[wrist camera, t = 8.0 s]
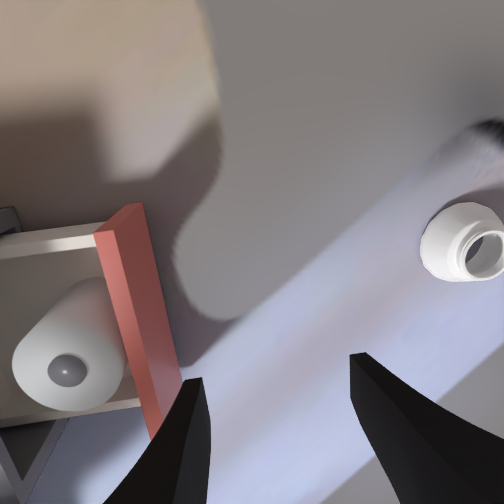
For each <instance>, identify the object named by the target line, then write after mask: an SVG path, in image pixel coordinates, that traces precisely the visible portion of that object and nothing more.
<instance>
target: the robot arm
mask: <svg viewBox="0 0 504 504" xmlns="http://www.w3.org/2000/svg"><path fill="white" fill-rule="evenodd" d="M350 398H351V401H352V404H353V406H354V409H355V412H356V414H357V417H358V419H359V422H360V424H361V426H362V428H363V430H364V432H365V434H366V436H367V438H368V440H369V442H370V444H371V446H372V448H373V450H374V452H375V454H376V455H377V457H378V459H379V461H380V463H381V465H382V467H383V469H384V471H385V473H386V474H387V476H388V478H389V480H390V482H391V484H392V486H393V488H394V490H395V492H396V495H397V497H398V499H399V502H400V504H504V439H502V438H500V437H498V436H496V435H494V434H492V433H490V432H487V431H485V430H483V429H481V428H479V427H477V426H475V425H473V424H471V423H469V422H467V421H465V420H463V419H462V418H460V417H458V416H456V415H455V414H453V413H451V412H449V411H447V410H446V409H444V408H442V407H441V406H439V405H437V404H436V403H434V402H433V401H431V400H430V399H428V398H427V397H425V396H423V395H422V394H420V393H419V392H417V391H416V390H415V389H413V388H412V387H410V386H409V385H408V384H406V383H405V382H403V381H402V380H401V379H399V378H398V377H397V376H395V375H394V374H393V373H391V372H390V371H389V370H388V369H386V368H385V367H384V366H382V365H381V364H380V363H379V362H377V361H376V360H375V359H373V358H372V357H371V356H370V355H368V354H367V353H366V352H364V353H358V354H351V355H350ZM210 454H211V423H210V415H209V410H208V405H207V400H206V395H205V390H204V385H203V380H202V377H200V378H194V379H187V380H185V381H184V382H183V384H182V386H181V388H180V390H179V393H178V395H177V397H176V399H175V401H174V403H173V405H172V406H171V408H170V410H169V412H168V414H167V416H166V417H165V419H164V421H163V423H162V424H161V426H160V428H159V430H158V431H157V433H156V434H155V436H154V437H153V439H152V441H151V442H150V444H149V445H148V447H147V448H146V450H145V451H144V453H143V454H142V456H141V457H140V458H139V460H138V461H137V463H136V464H135V465H134V467H133V468H132V469H131V471H130V472H129V473H128V474H127V476H126V477H125V478H124V479H123V481H122V482H121V483H120V484H119V485H118V487H117V488H116V489H115V490H114V492H113V493H112V494H111V495H110V496H109V497H108V498H107V500H106V501H105V502H104V503H103V504H206V500H207V489H208V478H209V466H210Z"/></svg>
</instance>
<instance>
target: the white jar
mask: <svg viewBox="0 0 504 504" xmlns="http://www.w3.org/2000/svg"><path fill="white" fill-rule="evenodd" d="M482 236H483V243H482V245H481V247H480V249H479V250H478V252H477V254H476V255H475V256H474V257H473V258H471V259H470V260H469V261H468V262H466V263H465V257H466V254H467V251H468V249H469V248H470V246H471V245H472V244H473V243H474V242H475V241H476V240H477V239H479V238H480V237H482ZM420 255H421V258H422V261H423V264H424V267H425V268H426V269H427V270H429V271H430V272H431V273H432V274H433V275H434V276H435V277H437V278H440V279H443V280H446V281H450V282H454V281H475V280H478V281H485V280H489V279H492V278H494V277H496V276H498V275H499V274H501V273H502V272H503V271H504V225H503V223H502V222H501V220H500V219H499V217H498V216H497V215H496V214H495V213H494V212H493V211H492V209H491V208H489V207H486V206H483V205H480V204H478V203H474V202H467V203H457V204H455V205H453V206H450V207H448V208H446V209H444V210H442V211H441V212H440V213H439V214H438V215H437V216H436V217H435V218H434V219H433V220H432V221H431V222H430V223H429V224H428V226H427V228H426V230H425V232H424V234H423V236H422V238H421V246H420Z"/></svg>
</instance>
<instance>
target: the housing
mask: <svg viewBox="0 0 504 504" xmlns="http://www.w3.org/2000/svg"><path fill="white" fill-rule="evenodd" d="M21 232H22V229H21V226H20V223H19V220H18V218H17V215H16V212H15V209H14V207H6V208H0V235H6V234H14V233H21ZM69 418H70V417H68V418H62V419H55V420H49V421H42V422H36V423H29V424H23V425H16V426H10V427H3V428H0V504H26V502H27V500H28V498H29V496H30V494H31V492H32V490H33V488H34V486H35V484H36V482H37V480H38V478H39V476H40V474H41V472H42V470H43V468H44V466H45V464H46V463H47V461H48V459H49V457H50V455H51V453H52V451H53V449H54V447H55V445H56V443H57V441H58V439H59V437H60V435H61V433H62V431H63V429H64V427H65V425H66V423H67V422H68V420H69Z"/></svg>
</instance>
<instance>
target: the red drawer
mask: <svg viewBox="0 0 504 504" xmlns="http://www.w3.org/2000/svg"><path fill="white" fill-rule="evenodd" d="M93 277H104V278H105V279H106V283H107V286H108V290H109V293H110V297H111V300H112V304H113V307H114V311H115V315H116V318H117V322H118V325H119V329H120V332H121V336H122V339H123V343H124V347H125V350H126V354H127V357H128V363H127V366H126V369H125V371H124V374H123V376H122V379H121V382H120V384H119V387H118V389H117V390H116V392H115V393H114V394H113V396H112V397H111V398H109V399H108V400H107V401H106V402H104V403H103V404H101V405H99V406H97V407H94V408H91V409H88V410H83V411H62V410H57V409H53V408H50V407H47V406H44V405H42V404H40V403H38V402H37V401H35V400H33V399H32V398H31V397H29V396H28V395H27V394H26V393H25V392H24V391H23V390H22V389H21V387H20V386H19V384H18V383H17V381H16V379H15V376H14V373H13V368H12V360H13V355H14V352H15V350H16V347H17V346H18V344H19V343H20V342H21V341H22V340H23V338H24V337H25V336H26V335H27V334H28V333H29V332H30V331H31V330H32V329H33V328H34V326H35V325H36V324H37V323H38V322H39V321H40V320H41V319H42V318H43V317H44V316H45V314H46V313H47V312H48V311H49V310H50V309H51V308H52V307H53V306H54V305H55V304H56V303H57V301H58V300H59V299H60V298H61V297H62V296H63V295H64V294H65V293H66V292H67V291H68V289H69V288H70V287H72V286H73V285H74V284H76V283H77V282H79V281H82V280H84V279H88V278H93ZM181 386H182V378H181V374H180V369H179V365H178V360H177V356H176V351H175V347H174V342H173V338H172V333H171V329H170V324H169V320H168V315H167V311H166V306H165V302H164V297H163V293H162V288H161V284H160V280H159V275H158V271H157V266H156V262H155V257H154V253H153V248H152V244H151V239H150V235H149V230H148V226H147V221H146V217H145V212H144V208H143V203H142V202H137V203H130V204H126V205H125V206H124V207H123V208H122V209H120V210H119V211H118V212H117V213H116V214H115V215H113V216H112V217H111V218H110V219H109V220H107V221H106V222H98V223H90V224H83V225H75V226H67V227H60V228H52V229H44V230H37V231H29V232H21V233H14V234H6V235H0V428H3V427H10V426H16V425H23V424H29V423H36V422H42V421H49V420H55V419H62V418H68V417H74V416H81V415H87V414H94V413H100V412H107V411H113V410H120V409H126V408H133V407H139V406H141V407H142V411H143V414H144V418H145V421H146V425H147V429H148V432H149V436H150V439H151V441H152V439H153V437H154V436H155V434H156V433H157V431H158V430H159V428H160V426H161V424H162V423H163V421H164V419H165V417H166V416H167V414H168V412H169V410H170V408H171V406H172V405H173V403H174V401H175V399H176V397H177V395H178V393H179V390H180V388H181Z"/></svg>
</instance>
